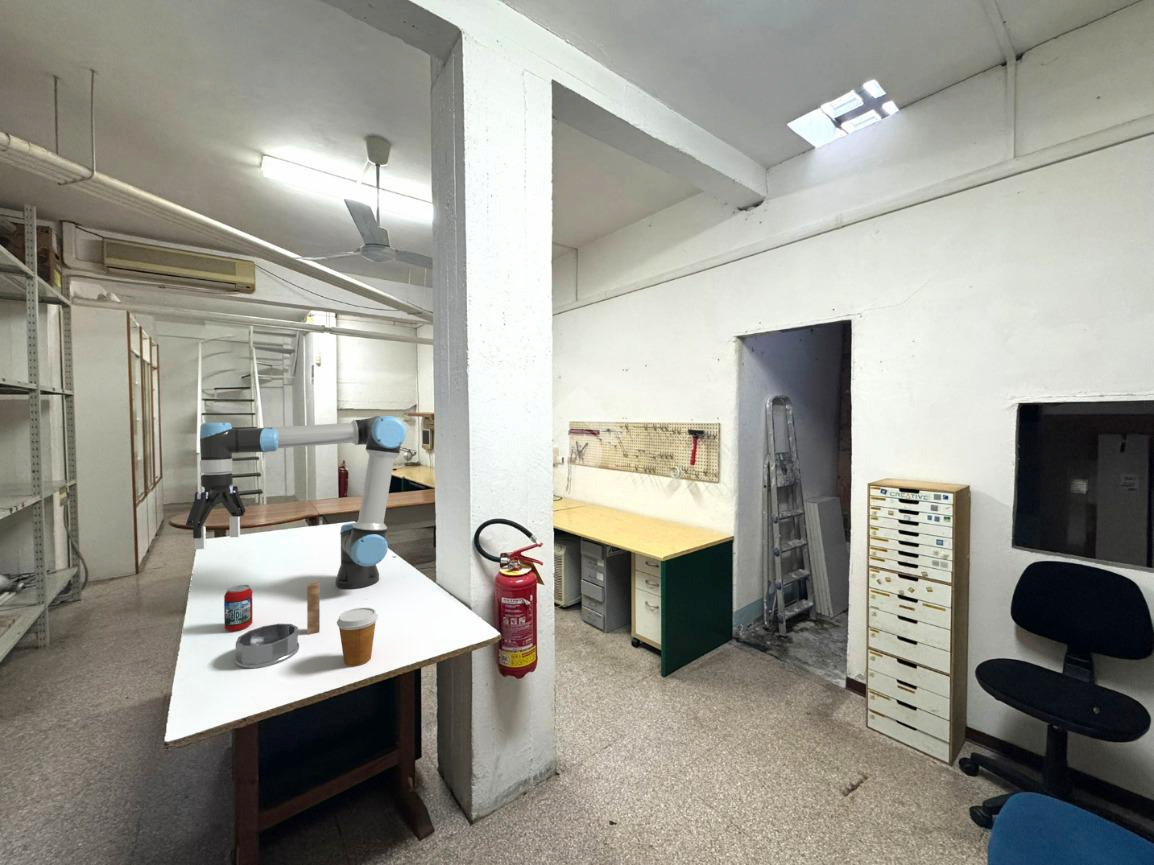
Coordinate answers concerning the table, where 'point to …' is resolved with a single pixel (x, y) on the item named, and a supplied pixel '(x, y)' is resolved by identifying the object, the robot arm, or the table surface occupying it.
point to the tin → (266, 646)
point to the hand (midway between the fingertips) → (218, 542)
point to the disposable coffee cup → (357, 635)
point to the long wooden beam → (313, 607)
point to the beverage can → (238, 608)
